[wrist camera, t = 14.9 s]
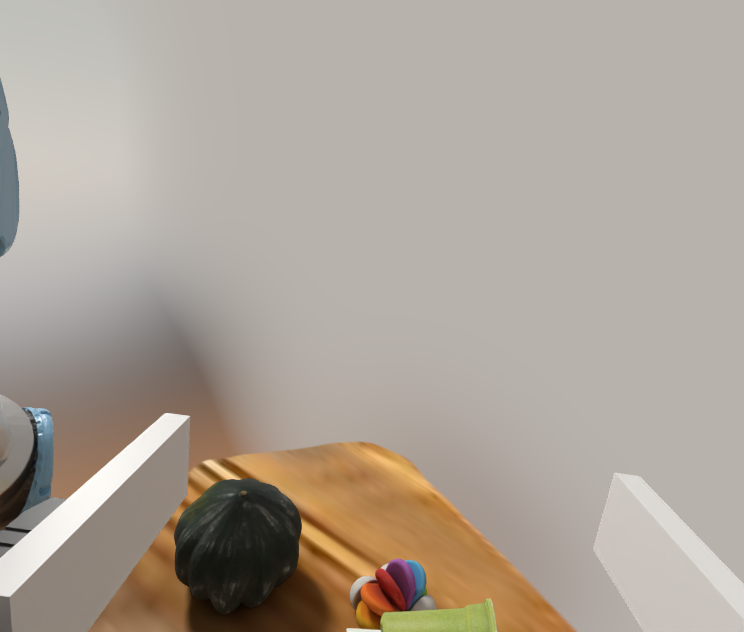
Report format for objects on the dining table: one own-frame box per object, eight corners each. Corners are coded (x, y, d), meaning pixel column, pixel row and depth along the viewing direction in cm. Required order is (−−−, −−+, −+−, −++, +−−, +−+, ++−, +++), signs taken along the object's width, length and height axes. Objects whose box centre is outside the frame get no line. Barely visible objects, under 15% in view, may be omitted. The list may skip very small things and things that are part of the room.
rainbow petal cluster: (336, 608, 53) (343, 557, 51) (397, 575, 59) (405, 528, 57) (381, 669, 46) (390, 612, 45) (444, 625, 52) (454, 574, 51)
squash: (243, 480, 65) (199, 441, 54) (332, 520, 60) (304, 486, 49) (184, 583, 58) (118, 564, 46) (280, 638, 53) (233, 632, 41)
